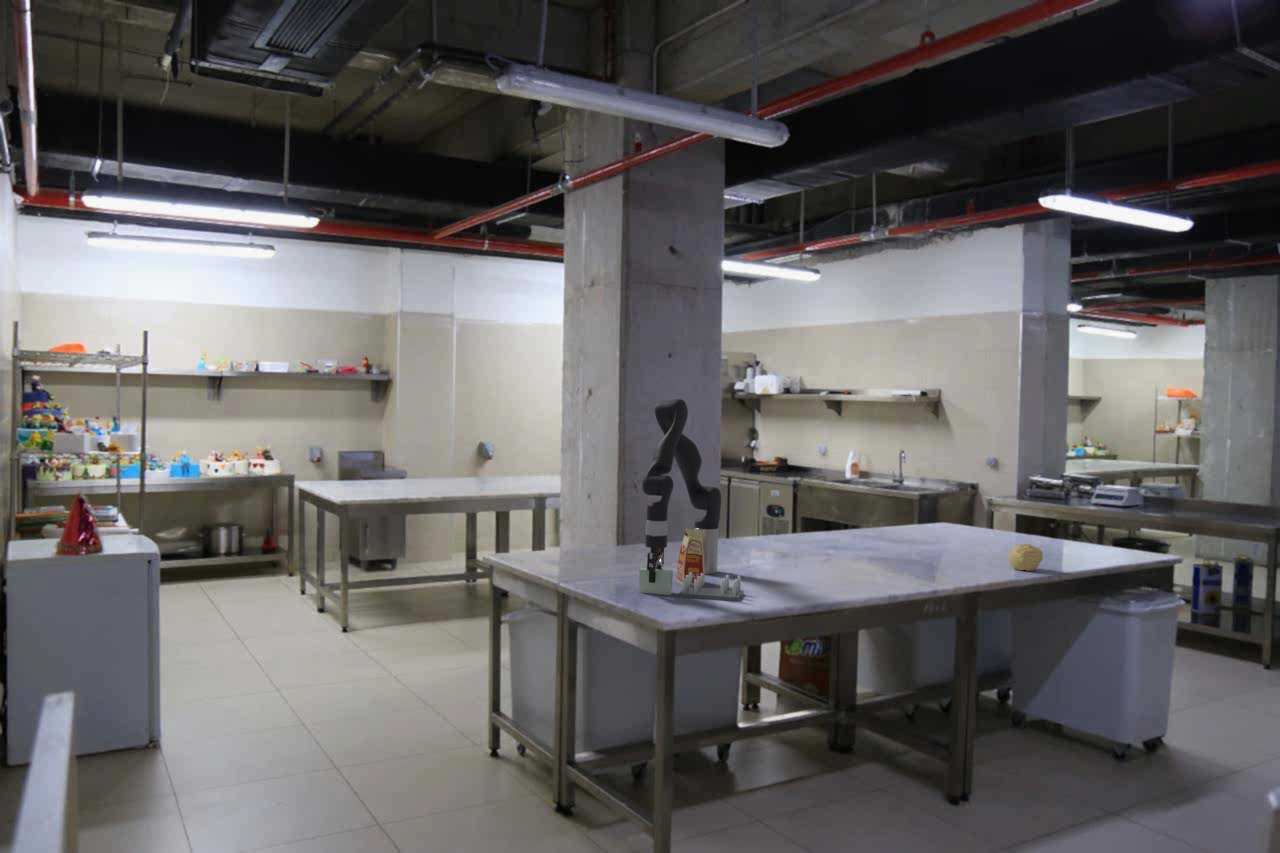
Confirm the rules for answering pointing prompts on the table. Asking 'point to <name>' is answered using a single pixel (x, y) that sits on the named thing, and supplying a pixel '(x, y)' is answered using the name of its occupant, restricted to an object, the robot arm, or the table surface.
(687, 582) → the dish rack
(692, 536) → the milk carton
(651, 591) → the sage green prism
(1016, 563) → the yellow lumpy ball
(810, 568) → the table surface
